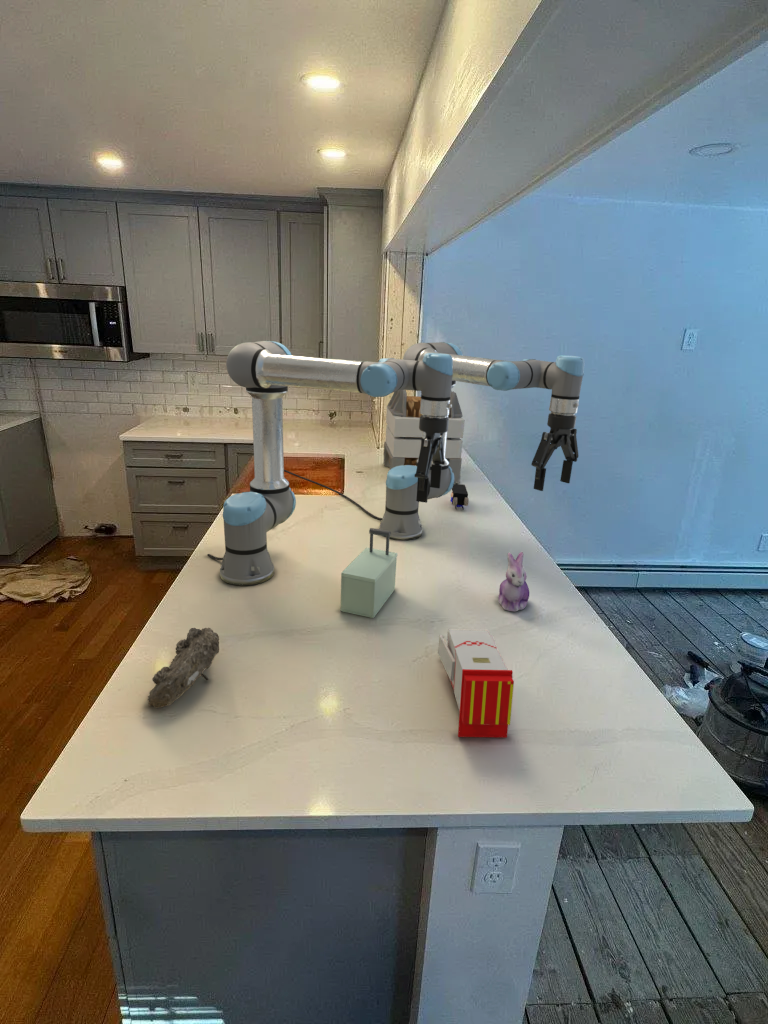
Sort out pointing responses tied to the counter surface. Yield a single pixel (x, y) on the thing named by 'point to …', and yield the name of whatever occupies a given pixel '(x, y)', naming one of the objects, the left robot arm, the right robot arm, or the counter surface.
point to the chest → (367, 593)
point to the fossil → (184, 666)
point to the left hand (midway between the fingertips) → (428, 494)
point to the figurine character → (459, 496)
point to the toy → (478, 682)
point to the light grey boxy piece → (419, 432)
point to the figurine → (514, 585)
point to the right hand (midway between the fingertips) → (551, 486)
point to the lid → (371, 560)
